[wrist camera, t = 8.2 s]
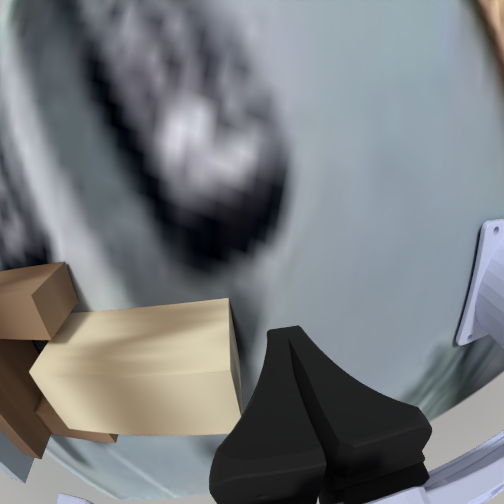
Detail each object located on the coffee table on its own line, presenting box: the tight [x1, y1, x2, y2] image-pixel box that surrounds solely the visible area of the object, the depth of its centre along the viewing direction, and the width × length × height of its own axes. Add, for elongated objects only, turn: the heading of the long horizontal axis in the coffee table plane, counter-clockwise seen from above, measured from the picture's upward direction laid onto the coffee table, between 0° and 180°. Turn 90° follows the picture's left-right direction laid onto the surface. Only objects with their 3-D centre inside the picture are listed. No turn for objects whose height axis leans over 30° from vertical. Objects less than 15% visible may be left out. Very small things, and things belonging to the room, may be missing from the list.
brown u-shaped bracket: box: [0, 262, 118, 459], centre depth 11 cm, size 6×9×5 cm, turn 6°
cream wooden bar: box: [29, 298, 243, 436], centre depth 12 cm, size 8×4×4 cm, turn 96°
